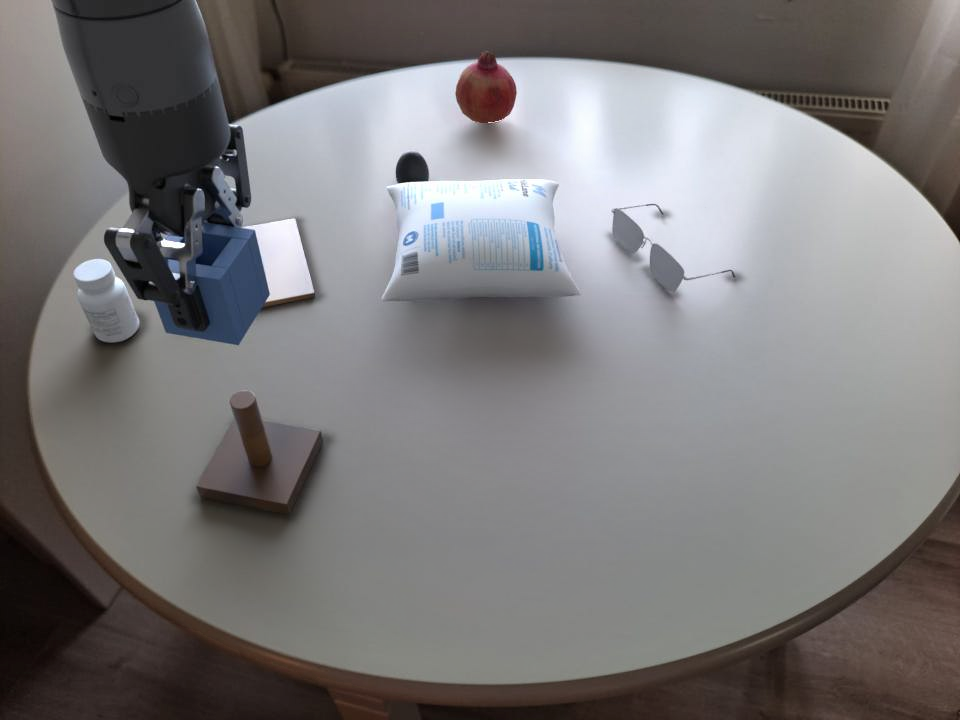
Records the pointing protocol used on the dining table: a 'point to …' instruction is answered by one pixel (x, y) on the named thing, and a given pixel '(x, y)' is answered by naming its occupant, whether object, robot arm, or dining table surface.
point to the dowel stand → (259, 460)
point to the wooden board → (283, 261)
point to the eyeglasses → (660, 259)
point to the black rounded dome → (411, 168)
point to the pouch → (477, 241)
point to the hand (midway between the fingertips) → (214, 297)
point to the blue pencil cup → (224, 283)
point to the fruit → (486, 90)
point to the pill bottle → (105, 301)
